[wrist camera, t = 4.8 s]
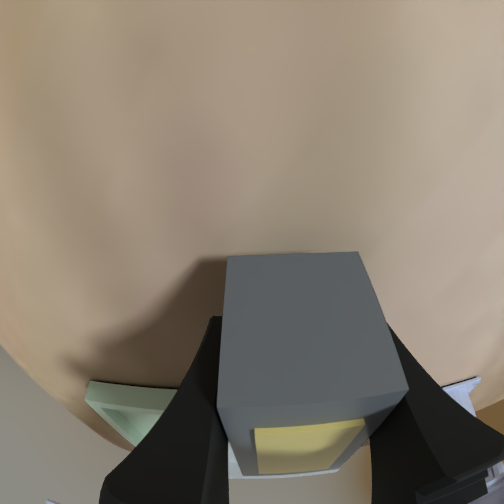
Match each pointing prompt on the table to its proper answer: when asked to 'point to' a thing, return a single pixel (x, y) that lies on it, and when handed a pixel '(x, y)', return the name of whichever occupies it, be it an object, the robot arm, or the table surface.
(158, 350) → the table surface
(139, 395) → the tray
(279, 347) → the grey block yellow label
